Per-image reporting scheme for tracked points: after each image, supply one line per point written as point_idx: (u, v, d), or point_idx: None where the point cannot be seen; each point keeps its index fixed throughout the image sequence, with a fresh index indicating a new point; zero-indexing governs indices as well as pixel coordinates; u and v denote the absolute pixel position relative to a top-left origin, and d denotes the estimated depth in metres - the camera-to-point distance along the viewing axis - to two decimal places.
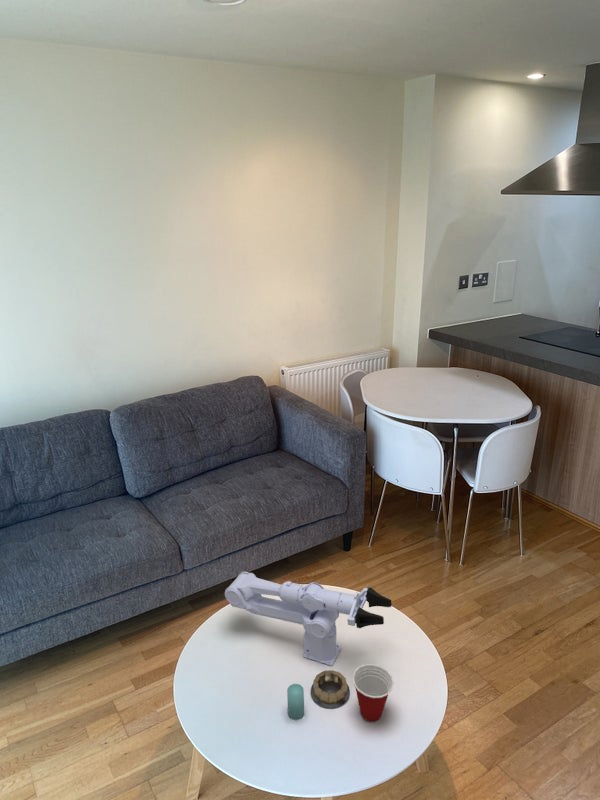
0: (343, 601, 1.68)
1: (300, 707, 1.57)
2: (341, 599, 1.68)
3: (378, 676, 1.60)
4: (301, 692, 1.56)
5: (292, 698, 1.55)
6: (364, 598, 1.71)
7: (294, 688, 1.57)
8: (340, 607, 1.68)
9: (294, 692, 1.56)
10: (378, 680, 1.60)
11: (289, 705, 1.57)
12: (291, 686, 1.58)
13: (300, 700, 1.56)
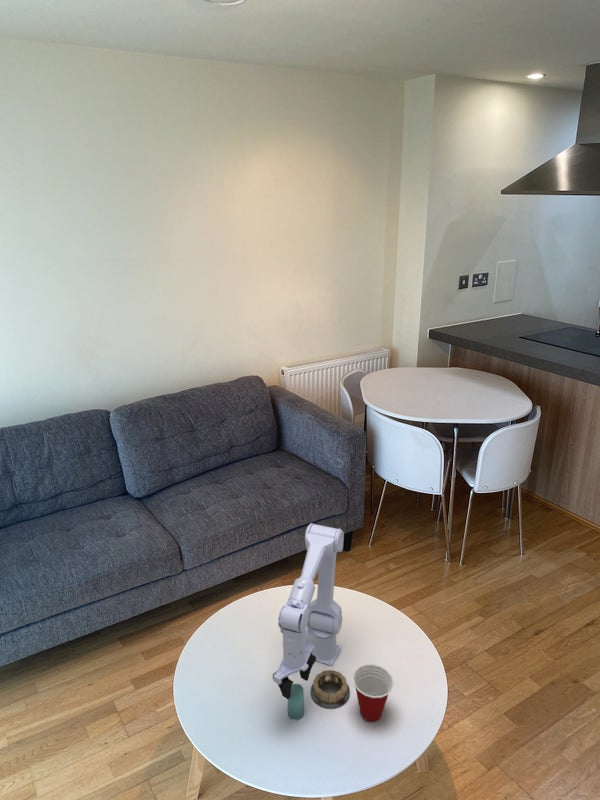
0: (296, 659, 1.50)
1: (300, 707, 1.57)
2: (297, 656, 1.50)
3: (378, 676, 1.60)
4: (301, 692, 1.56)
5: (292, 698, 1.55)
6: None
7: (294, 688, 1.57)
8: (289, 656, 1.50)
9: (294, 692, 1.56)
10: (378, 680, 1.60)
11: (289, 705, 1.57)
12: None
13: (300, 700, 1.56)
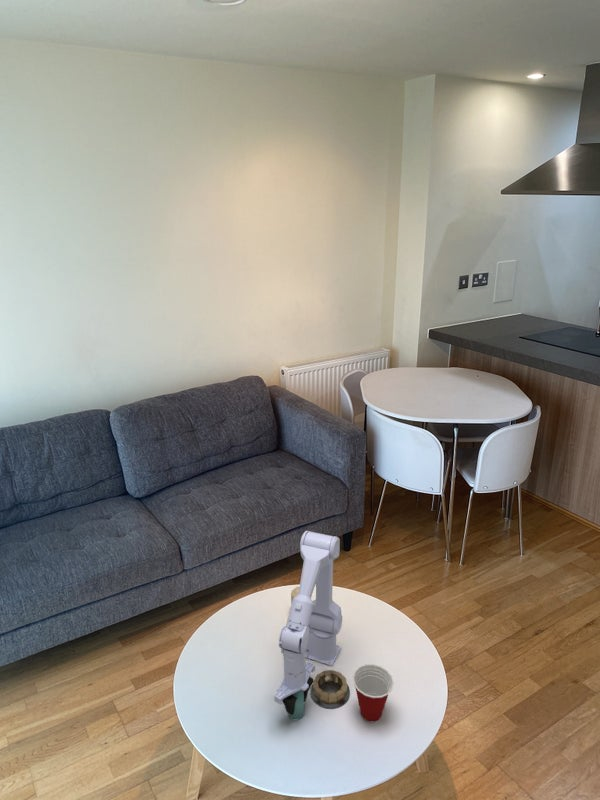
0: (296, 679, 1.52)
1: (300, 707, 1.57)
2: (298, 676, 1.52)
3: (378, 676, 1.60)
4: (301, 692, 1.56)
5: None
6: None
7: None
8: (289, 676, 1.52)
9: None
10: (378, 680, 1.60)
11: None
12: None
13: (300, 700, 1.56)
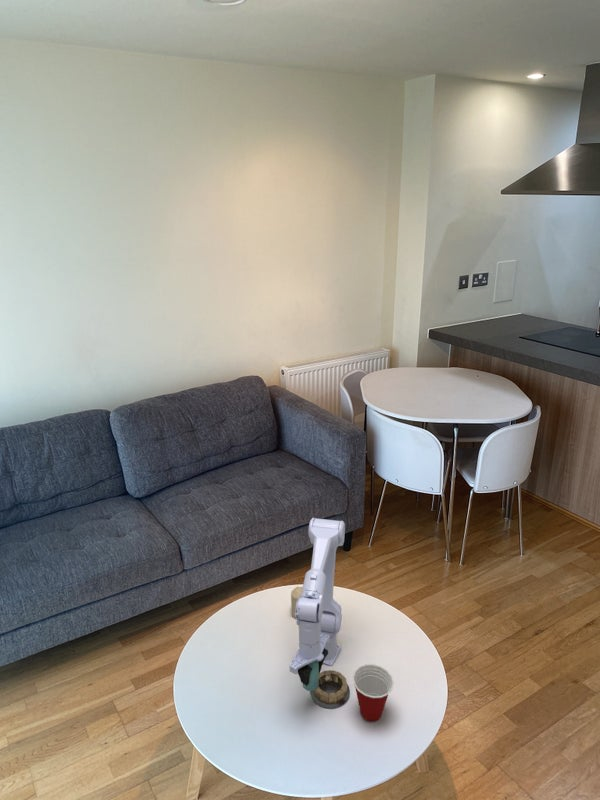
0: (312, 649, 1.52)
1: (315, 677, 1.57)
2: (313, 647, 1.52)
3: (378, 676, 1.60)
4: (316, 663, 1.57)
5: None
6: None
7: None
8: (305, 646, 1.52)
9: (309, 663, 1.57)
10: (378, 680, 1.60)
11: None
12: None
13: (315, 671, 1.56)
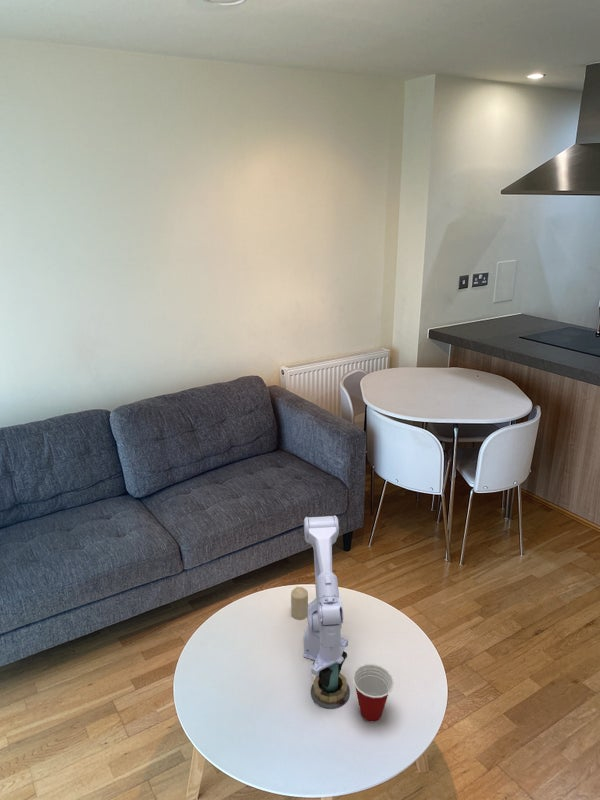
0: (332, 652, 1.57)
1: (335, 679, 1.62)
2: (334, 649, 1.57)
3: (378, 676, 1.60)
4: (336, 665, 1.62)
5: None
6: None
7: None
8: (325, 649, 1.58)
9: None
10: (378, 680, 1.60)
11: None
12: None
13: (335, 673, 1.61)
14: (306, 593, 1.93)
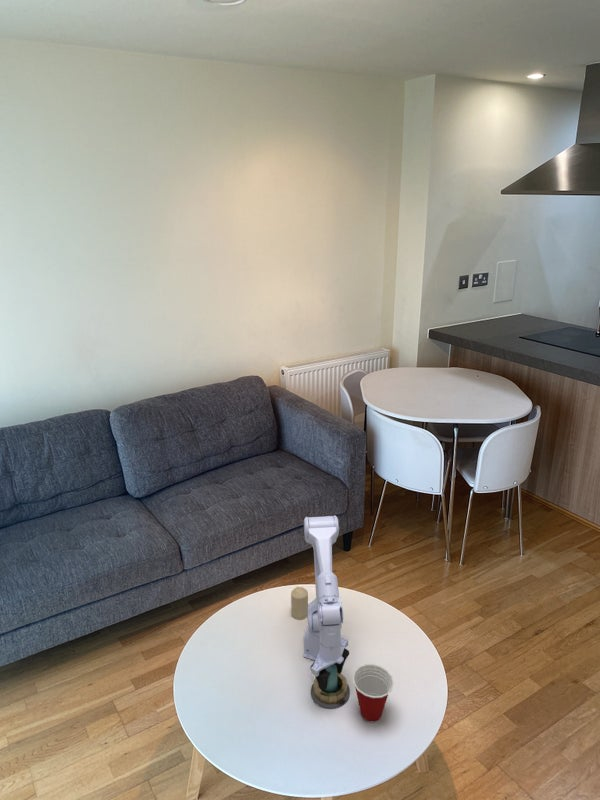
0: (332, 652, 1.57)
1: (334, 684, 1.63)
2: (334, 649, 1.57)
3: (378, 676, 1.60)
4: (335, 670, 1.62)
5: None
6: None
7: (327, 667, 1.63)
8: (325, 649, 1.58)
9: (328, 670, 1.62)
10: (378, 680, 1.60)
11: None
12: None
13: (334, 678, 1.62)
14: (306, 593, 1.93)
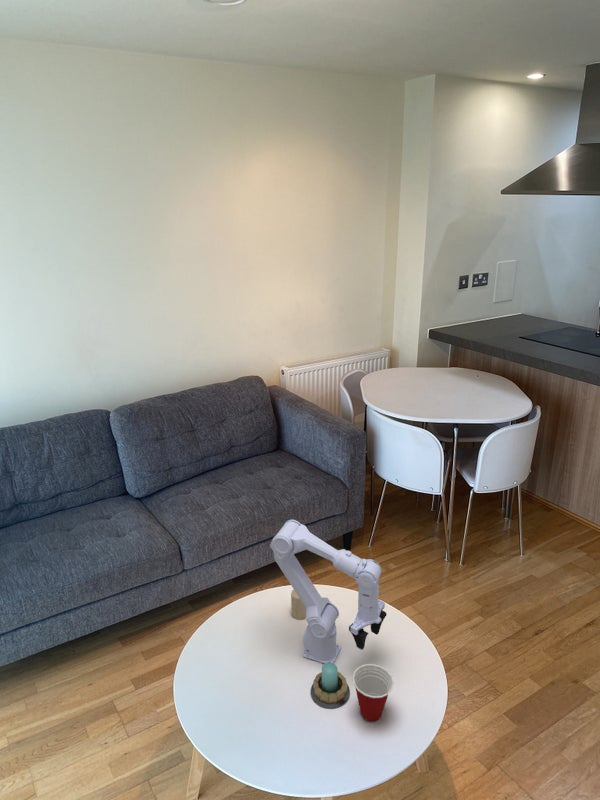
0: (371, 612, 1.65)
1: (334, 684, 1.63)
2: (372, 610, 1.65)
3: (378, 676, 1.60)
4: (335, 670, 1.62)
5: (326, 676, 1.61)
6: None
7: (328, 667, 1.63)
8: (364, 609, 1.65)
9: (328, 670, 1.62)
10: (378, 680, 1.60)
11: (324, 683, 1.63)
12: (324, 665, 1.64)
13: (335, 678, 1.62)
14: None
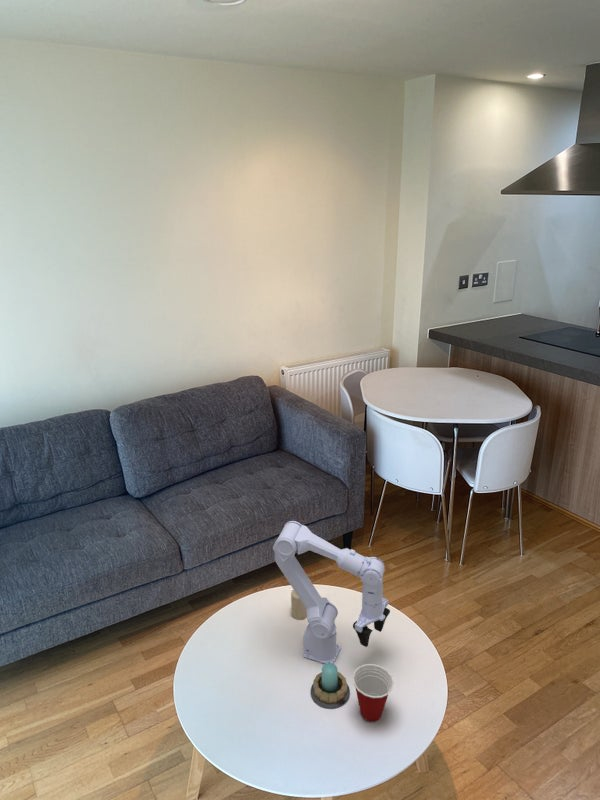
0: (375, 609, 1.66)
1: (334, 685, 1.63)
2: (376, 607, 1.66)
3: (378, 676, 1.60)
4: (335, 670, 1.62)
5: (326, 676, 1.61)
6: None
7: (328, 667, 1.63)
8: (368, 607, 1.66)
9: (328, 670, 1.62)
10: (378, 680, 1.60)
11: (324, 683, 1.63)
12: (324, 665, 1.64)
13: (335, 678, 1.62)
14: None
